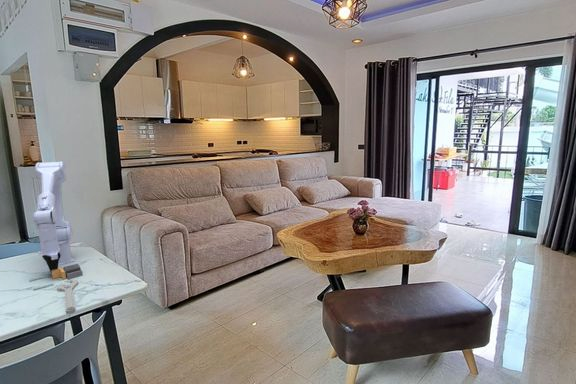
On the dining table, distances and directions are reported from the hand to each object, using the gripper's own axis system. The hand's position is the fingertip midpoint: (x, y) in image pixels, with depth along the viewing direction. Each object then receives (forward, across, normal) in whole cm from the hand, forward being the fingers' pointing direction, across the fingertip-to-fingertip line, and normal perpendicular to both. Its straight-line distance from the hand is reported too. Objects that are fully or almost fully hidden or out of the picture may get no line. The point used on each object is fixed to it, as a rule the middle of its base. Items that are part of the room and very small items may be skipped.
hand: (54, 271), depth 134 cm
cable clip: (+1, +5, +5) cm, 8 cm away
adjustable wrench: (+2, +25, -1) cm, 25 cm away
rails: (+1, +5, -5) cm, 8 cm away
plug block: (+2, +5, +5) cm, 8 cm away
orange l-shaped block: (+1, +5, +1) cm, 6 cm away
